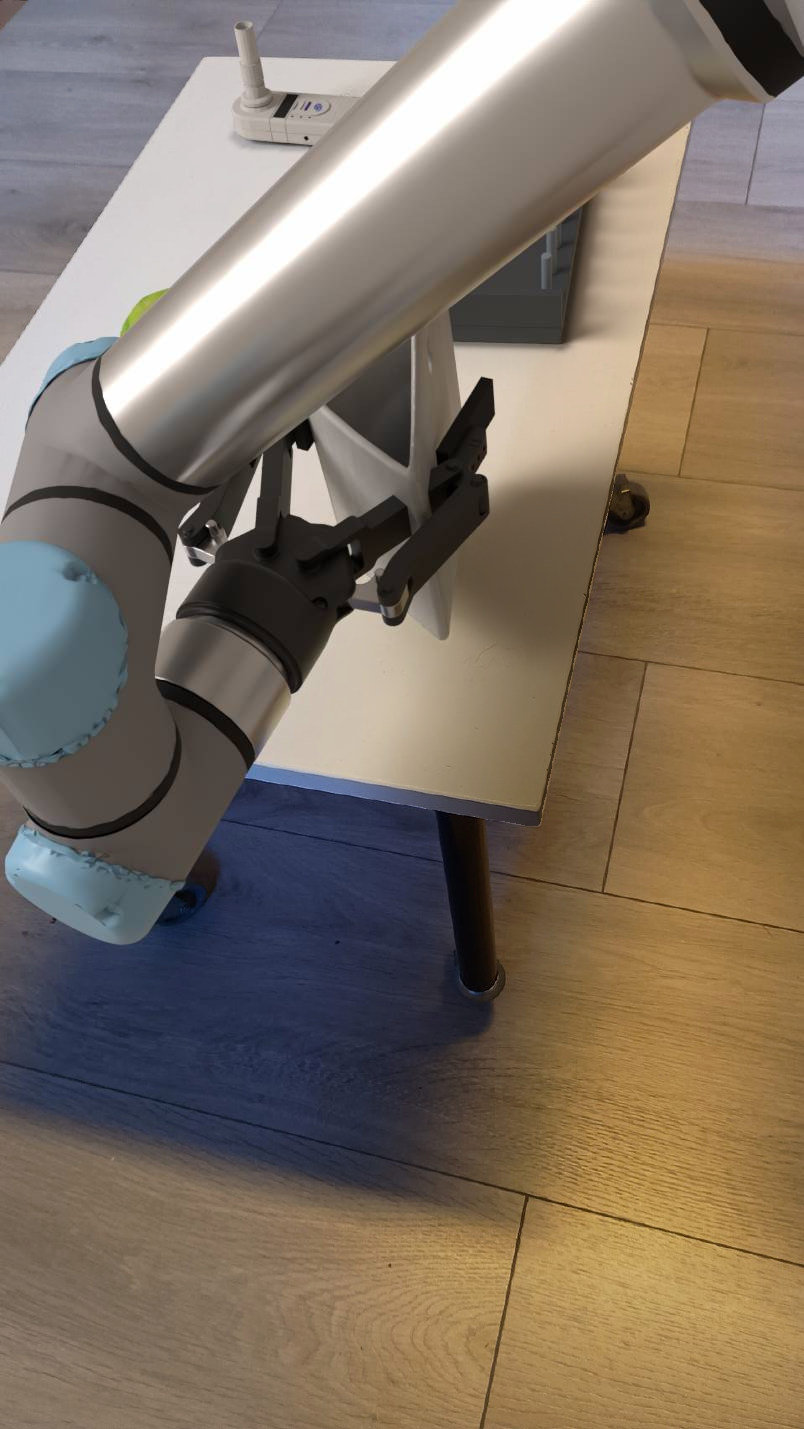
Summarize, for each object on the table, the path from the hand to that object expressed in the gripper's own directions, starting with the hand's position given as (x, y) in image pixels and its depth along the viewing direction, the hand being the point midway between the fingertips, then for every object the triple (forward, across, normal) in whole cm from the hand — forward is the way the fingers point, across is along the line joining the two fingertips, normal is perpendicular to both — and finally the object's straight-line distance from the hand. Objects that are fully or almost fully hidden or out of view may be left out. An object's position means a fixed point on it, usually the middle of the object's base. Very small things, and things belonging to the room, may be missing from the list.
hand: (415, 379), depth 68 cm
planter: (-5, 0, -11) cm, 12 cm away
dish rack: (+29, -11, -13) cm, 33 cm away
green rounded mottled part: (+10, -27, -13) cm, 32 cm away
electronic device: (+43, -34, -13) cm, 57 cm away
